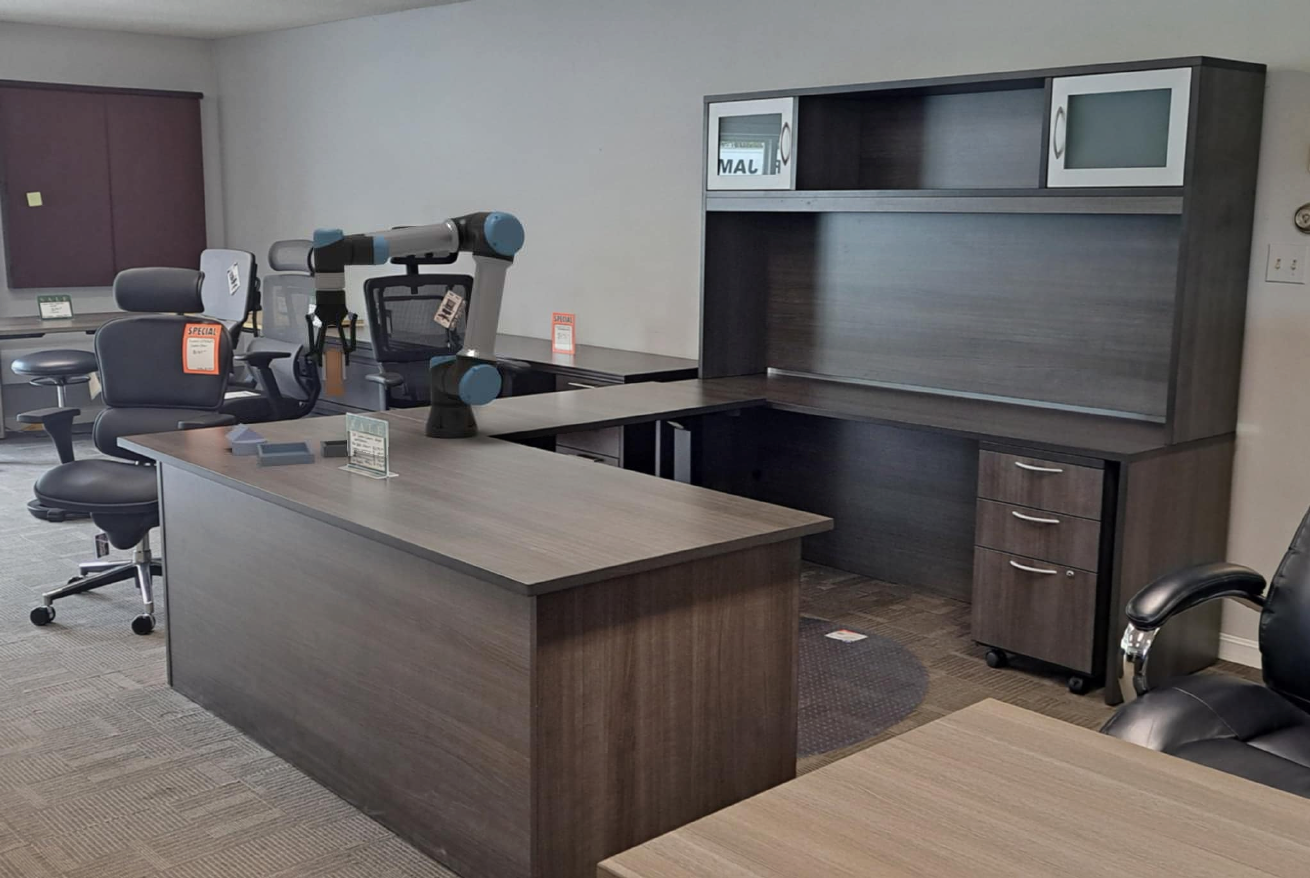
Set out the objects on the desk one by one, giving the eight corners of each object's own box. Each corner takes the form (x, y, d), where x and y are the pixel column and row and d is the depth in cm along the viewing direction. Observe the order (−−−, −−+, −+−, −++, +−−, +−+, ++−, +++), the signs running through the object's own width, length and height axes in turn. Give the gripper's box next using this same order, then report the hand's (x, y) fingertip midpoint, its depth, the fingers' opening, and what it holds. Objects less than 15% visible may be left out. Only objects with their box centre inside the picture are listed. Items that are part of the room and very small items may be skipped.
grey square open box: (351, 452, 328) (351, 439, 328) (355, 458, 321) (354, 444, 320) (321, 454, 325) (320, 441, 325) (324, 460, 318) (323, 446, 317)
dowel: (342, 394, 323) (340, 349, 321) (344, 396, 319) (342, 350, 317) (325, 395, 321) (323, 349, 319) (327, 397, 317) (325, 351, 315)
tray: (308, 452, 328) (307, 441, 328) (314, 465, 311) (313, 453, 311) (257, 455, 324) (256, 444, 323) (260, 468, 307) (260, 456, 306)
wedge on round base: (225, 448, 333) (237, 456, 322) (223, 424, 332) (235, 431, 321) (258, 445, 338) (271, 453, 327) (257, 421, 337) (270, 428, 326)
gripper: (362, 287, 322) (365, 376, 326) (294, 288, 316) (298, 378, 320) (366, 289, 315) (369, 379, 319) (296, 290, 309) (301, 382, 313)
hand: (334, 378), depth 319 cm, fingers closed on dowel, 4 cm apart
